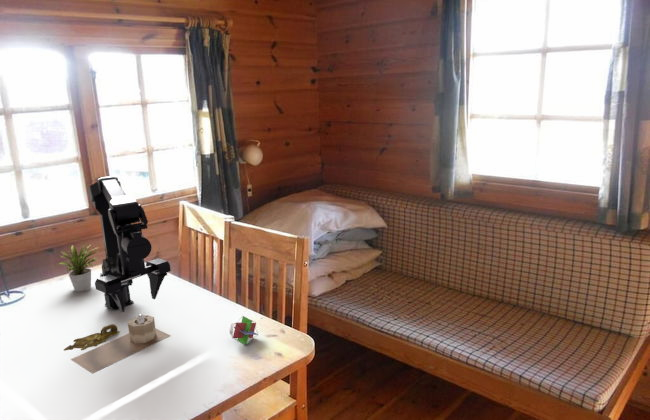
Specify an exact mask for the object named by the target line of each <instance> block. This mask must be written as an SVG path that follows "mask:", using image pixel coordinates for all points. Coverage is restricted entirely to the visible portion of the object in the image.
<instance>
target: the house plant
mask: <svg viewBox="0 0 650 420" xmlns="http://www.w3.org/2000/svg"><path fill="white" fill-rule="evenodd" d="M85 245H86V242H84V244H83V245H82V247H81V248H80V251H77V249H76V246H75V245H74V243H72V244H71V248H70V250H71V251H68V250H67V251H60V252H61V254H62V255H60V257H61V258H64V259H65V260H66V261H68V262H69V263H68V262H65V261H62V262H60V263H59V262H58V265H64V266H67V267H66V271H67V272H66V273H68V272H69V271H70V272H69V273H68V276H69V279H70V282H71V283H72V286H73V290H74V291H75V292H78V293H80V292H81V293H82V292H85V291H88V290H90V289H91V288H92V269H91V268H90V267H89V268H88V266H91V267H92V268H93V264H92V263H93V262H97V261H99V260H98V259H97V258H98V256H95V257H90V256H92V255H94V254H95V255H96V254H97V253H101V250H99V251H97V250H96V249H98V248H100V246H99V247H95V248H93V249H90V250H89V248H90V247H91V246H92V244H89V245H87V247H86V248H85ZM84 248H85V249H84ZM66 252H68V253H69V254H71V256H70V255H69V254H68V253H66ZM78 252H79V253H78ZM88 257H89V258H88Z"/></svg>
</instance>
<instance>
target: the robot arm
mask: <svg viewBox="0 0 650 420" xmlns="http://www.w3.org/2000/svg"><path fill="white" fill-rule="evenodd" d="M88 198H89V201H90V202H91V203H92V206H93V208H94V209H95V210H96V211H97V212H98V214H99V217H100V225H101V231H102V238H103V245H104V252H105V258H103V259H102V263H101V273H100V275H99V277H98V278H96V279H95V282H94V286H95V287H94V288H95V290H97V291H100V292H102V293H103V295H104V301H105V303H104V306H105V307H107V308H109V309H112V310H114V311H116V310H119V311H120V312H123V313H124V312H125V307H127V306H129V305H132V304H134V303H135V302H134V300H131V293H130V286H132V285H133V283H134V281H133V280H134V279H137V278H140V277H142V276H145V275H147V277H148V279H149V286H150V287H149V288H150V295H151V298H152V299H153V300H156V298H157V296H158V293H159V291H160V288H161V285H162V283H163V281H164V278H165V277H166V276H168V273H169V272H171V271H172V268H171V263H170V262H169V261H168V260H166V259H162V258H159V257H158V258H155V259H152V260H148V261H147V262H146V263H145V259H146V258H148V256H149V255H150V254H151V251H152V243H151V242H150V240H149V239H148V238H147V237H146V236H144V234H143V232H142V230H145V229H148V223H149V220H148V219H147V215H146V212H145V209H144V207H142V205H141V203H140V204H139V202H138V201H137V200H136V198H134V197H130V196H127V194H126V193H125V191H124V190H123V188H122V184H121V181H119V179H118V176H115V175H112V176H111V175H110V176H103V177H100V178H97V180H96V181H95V182H94V183H92V184H91V185H89V186H88Z"/></svg>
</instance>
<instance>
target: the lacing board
mask: <svg viewBox="0 0 650 420" xmlns="http://www.w3.org/2000/svg"><path fill="white" fill-rule="evenodd" d="M155 329H156V336H155V338H154V339H153V340H150V341H148V342H146V343H138V344H135V343H133V342H132V341H130V335H129V332H128V333H126V334H124V335H122V336H120V337H117V338H115V339H113V340H111V341H109V342H105V343H104V344H102V345H100V346H98V347H97V346H96V347H95V348H93V349H91V350H88V351H86V352H83V353H82V354H80V355H77V356H75V357H73V358H72V357H71V359H70V360H71V361H73V362H74V363H76V364H77V365H79V366H80V367H82V368H83V369H85V370H86V371H88V372H90V373H91V374H95V373H97V372H99V371H101V370H103V369H105V368H107V367H109V366H111V365H114V364H115V363H116V364H117V363H118V362H119V361H122V360H123V359H126V358H129V357H130V356H133V355H134V354H136V353H138V352H140V351H143V350H145V349H148V348H149V347H151V346H152V345H155V344H157V343H160V342H161V341H163V340H165V339H167V338H170V337H172V335H171V334H170V333H167V332H164V331H162V330H160V329H158V328H156V327H155Z"/></svg>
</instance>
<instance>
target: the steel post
mask: <svg viewBox="0 0 650 420" xmlns="http://www.w3.org/2000/svg"><path fill="white" fill-rule="evenodd" d="M136 317H137V323H138V324H141V323H144V322H145V321H144V314H142V313H139V314H138V315H136Z"/></svg>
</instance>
